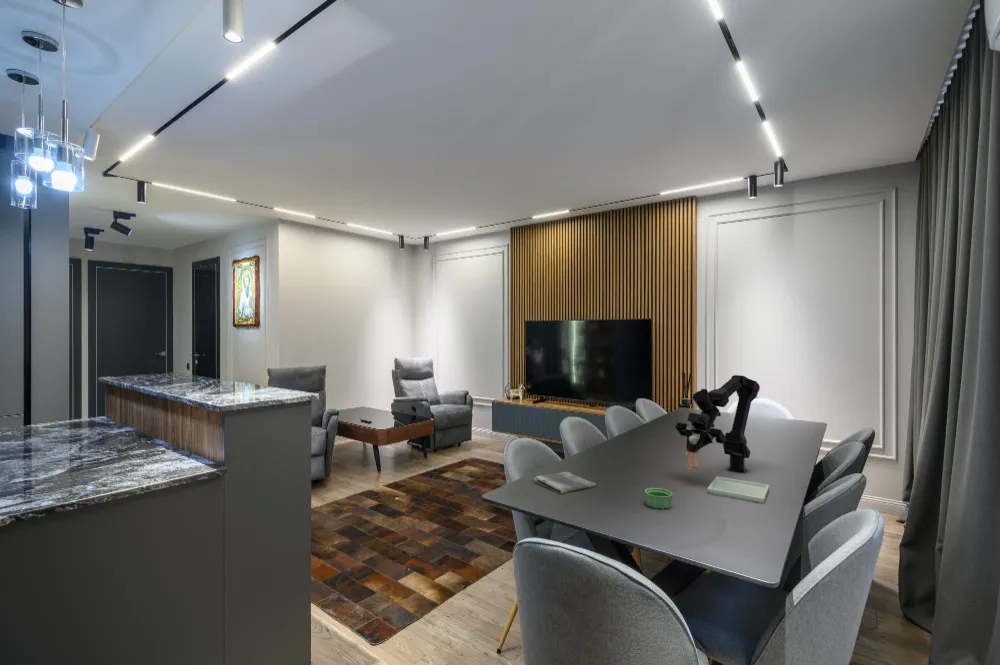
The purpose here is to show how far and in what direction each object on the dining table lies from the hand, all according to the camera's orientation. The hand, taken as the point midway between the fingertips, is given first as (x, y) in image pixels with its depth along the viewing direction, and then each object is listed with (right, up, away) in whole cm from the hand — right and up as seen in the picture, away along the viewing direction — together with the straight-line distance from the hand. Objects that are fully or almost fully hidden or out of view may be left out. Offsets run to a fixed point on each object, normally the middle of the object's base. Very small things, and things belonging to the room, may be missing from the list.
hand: (690, 450), depth 183 cm
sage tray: (+15, -13, -7) cm, 21 cm away
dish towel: (-49, -14, 0) cm, 50 cm away
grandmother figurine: (+1, -7, +1) cm, 7 cm away
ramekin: (-20, -13, -22) cm, 32 cm away
